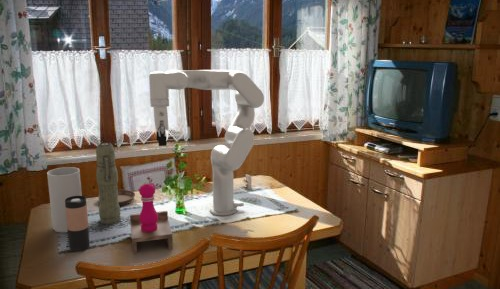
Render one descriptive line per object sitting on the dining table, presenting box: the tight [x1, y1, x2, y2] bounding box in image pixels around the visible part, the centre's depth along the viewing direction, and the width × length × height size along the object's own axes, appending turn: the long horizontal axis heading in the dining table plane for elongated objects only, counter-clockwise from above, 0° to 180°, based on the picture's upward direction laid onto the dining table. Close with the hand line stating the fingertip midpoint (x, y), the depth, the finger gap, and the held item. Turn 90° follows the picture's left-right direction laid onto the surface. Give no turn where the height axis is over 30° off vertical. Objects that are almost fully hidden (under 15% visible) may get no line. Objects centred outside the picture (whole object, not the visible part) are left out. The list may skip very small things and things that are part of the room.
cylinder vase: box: [46, 166, 83, 234], centre depth 189 cm, size 12×12×25 cm
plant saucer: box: [98, 189, 136, 206], centre depth 223 cm, size 18×18×3 cm
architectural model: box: [239, 173, 252, 190], centre depth 243 cm, size 3×7×7 cm, turn 30°
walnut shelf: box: [129, 210, 174, 254], centre depth 177 cm, size 15×17×9 cm
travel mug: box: [65, 195, 91, 253], centre depth 171 cm, size 8×8×20 cm
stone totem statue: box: [95, 142, 121, 225], centre depth 195 cm, size 9×12×35 cm
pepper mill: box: [139, 179, 158, 232], centre depth 174 cm, size 7×7×20 cm
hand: (161, 143), depth 187 cm, fingers open, 9 cm apart
